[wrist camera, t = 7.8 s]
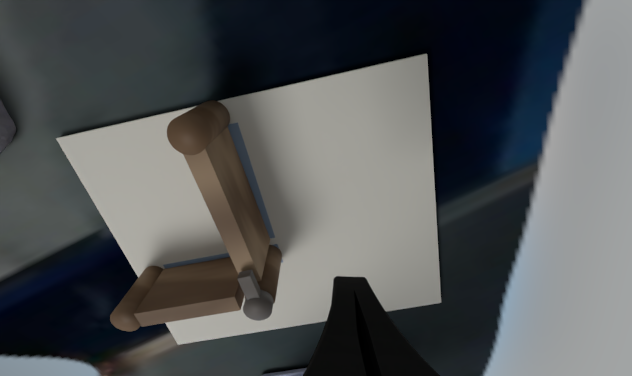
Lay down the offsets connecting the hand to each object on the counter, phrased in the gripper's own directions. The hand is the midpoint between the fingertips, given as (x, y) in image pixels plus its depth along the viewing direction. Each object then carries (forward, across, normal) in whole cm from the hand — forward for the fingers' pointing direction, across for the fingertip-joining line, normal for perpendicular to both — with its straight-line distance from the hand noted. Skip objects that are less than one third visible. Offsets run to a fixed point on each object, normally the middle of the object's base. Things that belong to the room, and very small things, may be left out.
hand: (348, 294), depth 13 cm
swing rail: (+9, +6, 0) cm, 11 cm away
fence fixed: (+10, +9, +7) cm, 15 cm away
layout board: (+10, +4, +3) cm, 11 cm away
